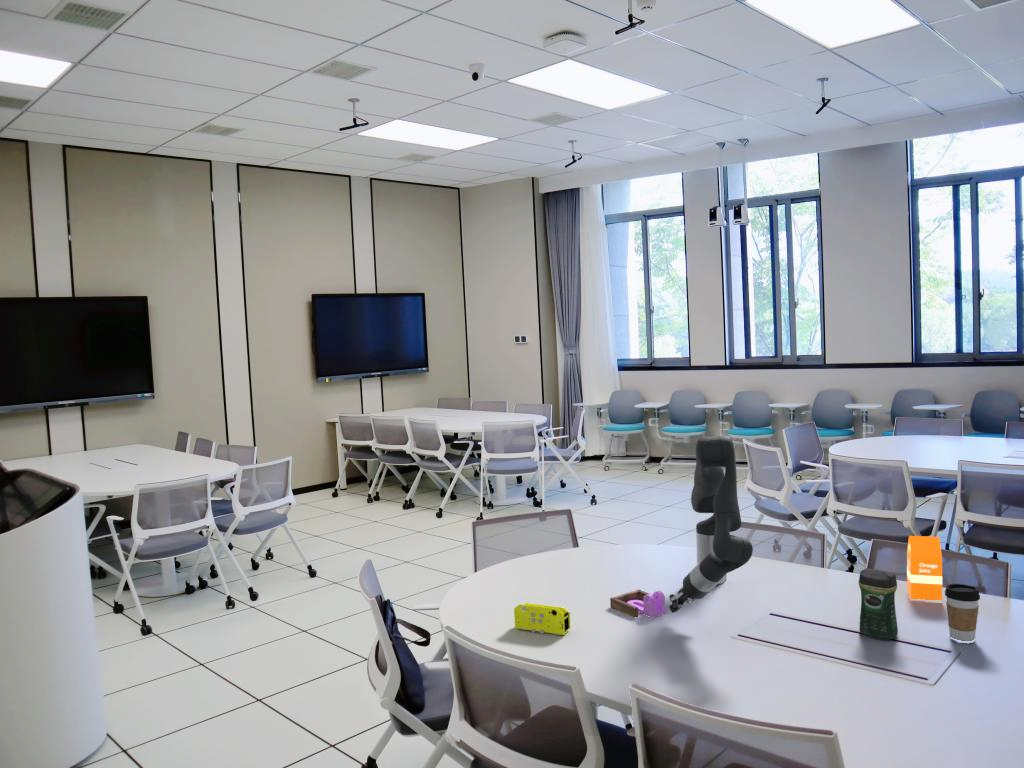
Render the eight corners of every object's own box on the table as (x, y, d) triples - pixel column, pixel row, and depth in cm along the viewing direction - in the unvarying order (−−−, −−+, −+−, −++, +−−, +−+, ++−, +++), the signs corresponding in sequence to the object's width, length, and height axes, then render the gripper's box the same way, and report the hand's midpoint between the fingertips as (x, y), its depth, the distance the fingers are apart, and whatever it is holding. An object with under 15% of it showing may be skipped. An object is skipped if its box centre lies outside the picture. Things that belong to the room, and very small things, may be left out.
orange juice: (942, 603, 239) (942, 540, 238) (910, 601, 242) (910, 538, 241) (937, 594, 247) (937, 533, 245) (906, 592, 250) (906, 532, 248)
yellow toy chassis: (514, 631, 232) (513, 604, 231) (522, 624, 237) (520, 597, 237) (564, 638, 225) (563, 610, 225) (570, 630, 231) (569, 603, 230)
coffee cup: (967, 648, 207) (968, 594, 206) (938, 637, 215) (937, 585, 213) (986, 641, 211) (987, 588, 210) (956, 631, 218) (956, 579, 217)
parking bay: (639, 598, 254) (638, 589, 254) (664, 608, 245) (664, 599, 245) (610, 607, 248) (610, 598, 247) (635, 617, 238) (634, 608, 238)
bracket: (665, 614, 240) (664, 592, 240) (652, 618, 237) (651, 596, 237) (636, 602, 251) (635, 581, 251) (623, 606, 248) (622, 585, 248)
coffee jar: (901, 634, 218) (901, 570, 216) (891, 643, 212) (891, 577, 211) (865, 626, 225) (865, 563, 223) (855, 634, 219) (854, 570, 218)
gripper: (710, 564, 227) (681, 593, 238) (678, 573, 220) (649, 603, 231) (725, 586, 223) (694, 615, 234) (692, 596, 216) (662, 626, 227)
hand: (672, 609), depth 232 cm, fingers closed
